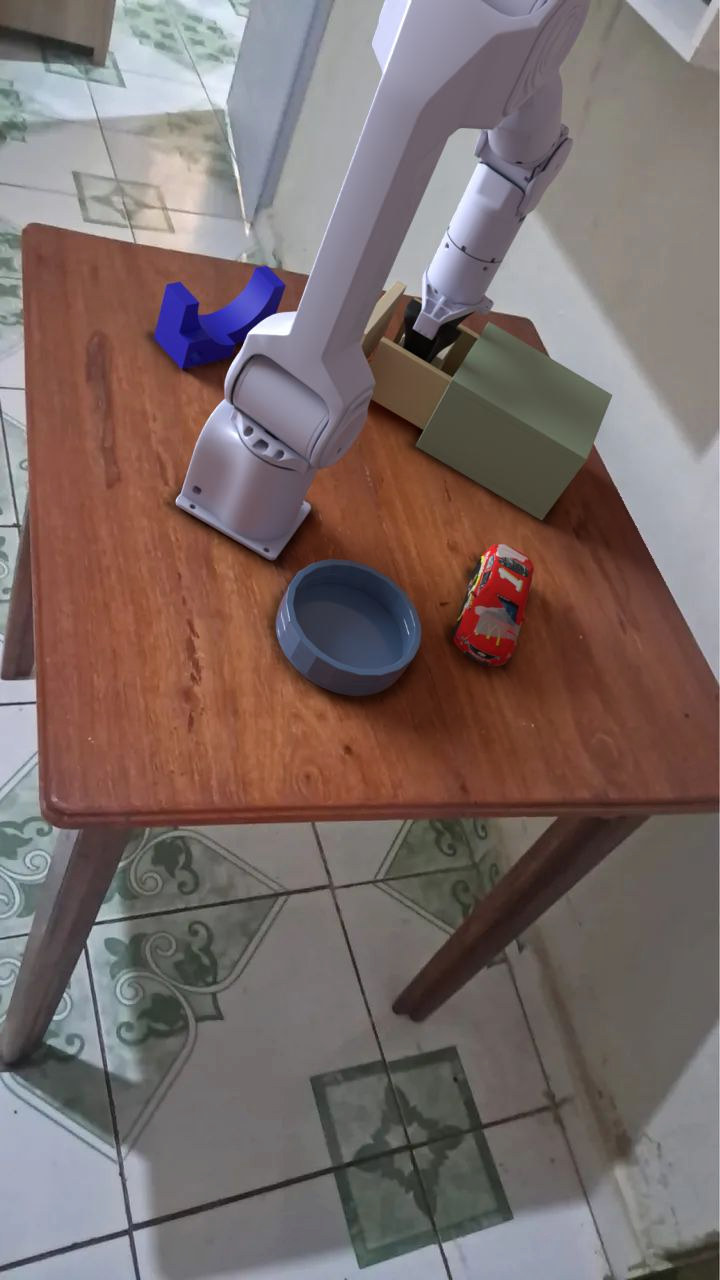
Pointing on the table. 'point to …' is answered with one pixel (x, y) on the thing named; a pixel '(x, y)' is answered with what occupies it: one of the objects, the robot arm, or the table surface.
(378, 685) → the bowl
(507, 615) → the race car
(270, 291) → the cable clip
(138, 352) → the table surface
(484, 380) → the cabinet
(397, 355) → the drawer
